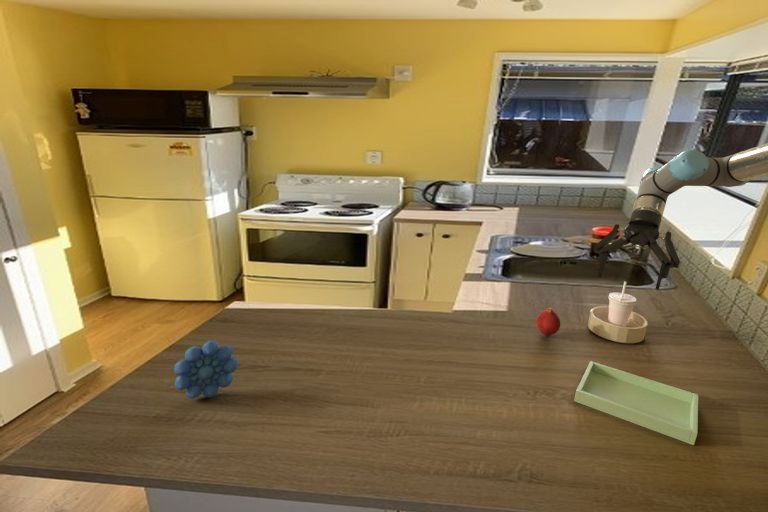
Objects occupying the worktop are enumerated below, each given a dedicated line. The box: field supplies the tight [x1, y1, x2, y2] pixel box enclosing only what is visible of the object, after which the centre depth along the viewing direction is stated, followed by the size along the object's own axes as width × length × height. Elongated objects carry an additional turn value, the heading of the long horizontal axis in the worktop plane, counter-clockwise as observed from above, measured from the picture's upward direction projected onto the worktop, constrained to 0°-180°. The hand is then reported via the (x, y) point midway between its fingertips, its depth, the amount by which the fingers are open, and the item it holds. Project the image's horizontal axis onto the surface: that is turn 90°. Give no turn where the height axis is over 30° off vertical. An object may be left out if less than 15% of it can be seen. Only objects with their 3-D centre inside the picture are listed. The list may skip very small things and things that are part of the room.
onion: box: [535, 307, 561, 338], centre depth 108 cm, size 6×6×8 cm
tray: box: [573, 360, 699, 446], centre depth 83 cm, size 20×14×2 cm
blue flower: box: [173, 340, 239, 400], centre depth 81 cm, size 12×7×12 cm, turn 106°
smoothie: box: [607, 281, 638, 327], centre depth 110 cm, size 6×6×14 cm
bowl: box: [587, 305, 649, 344], centre depth 112 cm, size 13×13×4 cm
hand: (627, 281), depth 112 cm, fingers open, 13 cm apart
